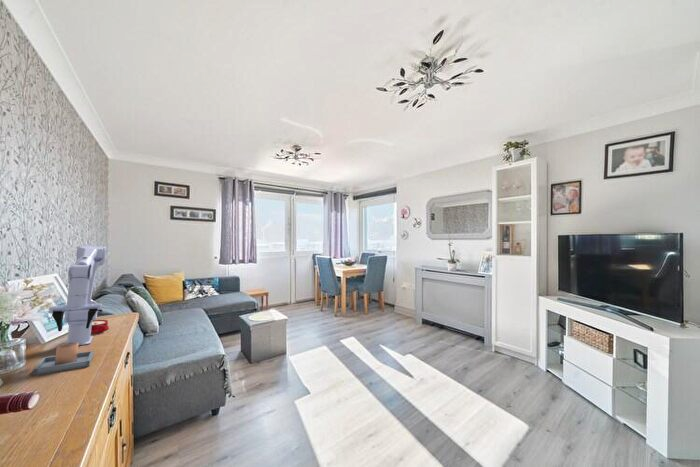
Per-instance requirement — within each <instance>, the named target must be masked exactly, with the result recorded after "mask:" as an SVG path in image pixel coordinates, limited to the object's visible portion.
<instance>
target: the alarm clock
mask: <svg viewBox="0 0 700 467" xmlns="http://www.w3.org/2000/svg"><path fill="white" fill-rule="evenodd" d="M108 324H109V322H108V320H107V319H95V320H94V321H92V327H91V334H98V335H99V334H102V333H104V332H105V331H107V330H109V325H108Z"/></svg>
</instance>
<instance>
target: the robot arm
mask: <svg viewBox="0 0 700 467" xmlns="http://www.w3.org/2000/svg"><path fill="white" fill-rule="evenodd" d="M107 250H108V249H107V246H105V245H103V246H99V245H98V246H97V245H81V244H80V245H79V246H77V248H76V252H75V254H76V255H75V256H76V261H74V262H75V263H73V265H70V266H69V268H68V272H67V278H68V281H67V282H68V283H67V284H68V289H67V291H68V292H67V300H66V305H58V306H57V305H56V306H50V307H49V309H48V314H51V316H52V318H53V319H54V322H55V323H56V327H57V332H61V331H62V330H63V320H64V322H65V324H67V326H68V331H67V338H66V342H65V343H70V342H77V343H79V346H85V345H90V344H91V342H92V340H93V338H94V336H92V333H91V327H92V321H94V320H97V318H98V310H99V311H100V310H102V306H103V304H102V303H98V302H97V301H95V300H93V299H92V297H93V296H92V295H93V291H94V286H95V279H96V274H97V271H98V268H99V267H100V266H104V264H105V262H106V257H107Z"/></svg>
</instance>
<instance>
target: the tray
mask: <svg viewBox="0 0 700 467" xmlns="http://www.w3.org/2000/svg"><path fill="white" fill-rule="evenodd" d="M94 354H95V350H90V351H89V350H88V351H82V352H79V351H78V355H77V362H73V363H66V364H59V365H55V358H56V355H51V356H44V357H42V359H41V360H40V361H39V362H38V364H37V365H36V366H35V367H34V369H33V374H32V375H33V376H38V375H44V374H51V373H55V372H60V371H61V372H62V371H68V370H73V369H74V370H76V369H80V368H87V367H90V365H91V362H92V360H93V357H94Z"/></svg>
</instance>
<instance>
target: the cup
mask: <svg viewBox="0 0 700 467" xmlns="http://www.w3.org/2000/svg"><path fill="white" fill-rule="evenodd" d="M79 346H80V345H79V343H77V342H70V343H66V342H65V343H62V344H59V345H57V346H56V350H55V356H56V358H55V365H59V364H66V363H73V362H77V355H78V353H79Z"/></svg>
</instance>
